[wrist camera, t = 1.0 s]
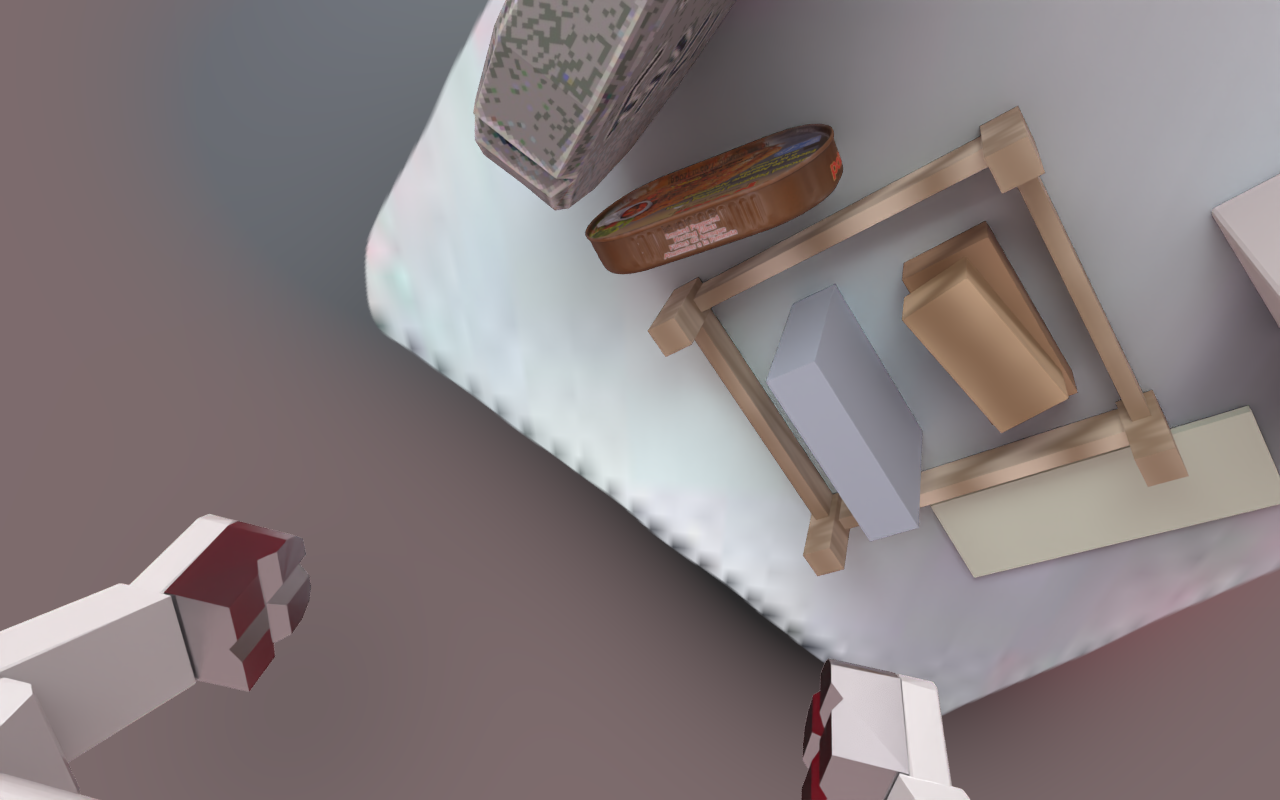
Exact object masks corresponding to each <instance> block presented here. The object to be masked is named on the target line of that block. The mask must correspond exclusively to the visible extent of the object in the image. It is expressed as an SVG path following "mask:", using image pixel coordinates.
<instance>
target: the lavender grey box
mask: <svg viewBox="0 0 1280 800" xmlns="http://www.w3.org/2000/svg"><path fill="white" fill-rule="evenodd" d="M766 383H767V385H768V386H769V388H770V389H771V391H772V392H773V394H774V395H775V397H776V398H777V400H778V402H779V403H780V405H781V406H782V408H783V409H784V411H785V412H786V414H787V415H788V417H789V418H790V420H791V421H792V423H793V424H794V426H795V428H796V429H797V431H798V432H799V434H800V435H801V437H802V438H803V440H804V441H805V443H806V444H807V446H808V447H809V449H810V451H811V452H812V454H813V455H814V457H815V458H816V460H817V461H818V463H819V464H820V466H821V467H822V469H823V470H824V472H825V473H826V475H827V477H828V478H829V480H830V481H831V483H832V484H833V486H834V487H835V489H836V490H837V492H838V493H839V495H840V496H841V498H842V499H843V501H844V503H845V504H846V506H847V507H848V509H849V510H850V512H851V513H852V515H853V516H854V518H855V519H856V521H857V522H858V524H859V526H860V527H861V529H862V530H863V532H864V533H865V535H866V536H867V538H868V539H869V541H874V540H877V539H881V538H884V537H888V536H891V535H895V534H898V533H902V532H906V531H909V530H913V529H916V528H919V509H920V482H921V455H922V429H921V428H920V426H919V424H918V423H917V421H916V419H915V418H914V416H913V414H912V413H911V411H910V409H909V407H908V406H907V404H906V402H905V401H904V399H903V397H902V396H901V394H900V392H899V391H898V389H897V387H896V386H895V384H894V382H893V381H892V379H891V377H890V375H889V374H888V372H887V370H886V369H885V367H884V365H883V364H882V362H881V360H880V359H879V357H878V355H877V354H876V352H875V350H874V348H873V347H872V345H871V343H870V342H869V340H868V338H867V337H866V335H865V333H864V332H863V330H862V328H861V327H860V325H859V323H858V322H857V320H856V318H855V316H854V315H853V313H852V311H851V310H850V308H849V306H848V305H847V303H846V301H845V300H844V298H843V296H842V295H841V293H840V291H839V289H838V288H837V286H836V284H833V285H831V286H829V287H827V288H825V289H823V290H821V291H819V292H817V293H815V294H813V295H811V296H808V297H806V298H804V299H802V300H800V301H798V302H796V303H794V304H793V305H792V308H791V311H790V314H789V317H788V320H787V323H786V325H785V328H784V331H783V334H782V337H781V340H780V343H779V345H778V348H777V351H776V354H775V357H774V360H773V363H772V365H771V368H770V371H769V374H768V377H767V380H766Z"/></svg>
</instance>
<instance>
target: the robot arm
mask: <svg viewBox="0 0 1280 800" xmlns="http://www.w3.org/2000/svg"><path fill="white" fill-rule="evenodd" d="M305 555H306V552H305V546H304V542H303V539H302V538H300V537H297V536H294V535H291V534H287V533H283V532H279V531H275V530H271V529H268V528H264V527H260V526H256V525H252V524H249V523H245V522H240V521H235V520H231V519H228V518H224V517H220V516H216V515H212V514H208V515H205V516H203V517H200V518H198V519H197V520H196V521H195V522H194V523H193V524H192V525H191V526H190V527H189V528H188V529H187V530H186V531H184V532H183V533H182V534H181V535H180V536H179V537H178V538H177V539H176V540H175V541H174V542H173V543H172V544H171V545H170V546H169V547H168V548H167V549H166V550H165V551H164V552H163V553H162V554H161V555H160V556H159V557H158V558H157V559H156V560H155V561H154V562H153V563H152V564H150V566H148V567H147V568H146V569H145V570H144V571H143V572H142V573H141V574H140V575H139V576H138V577H137V578H136V579H135V580H134V581H133V582H132V583H131V584H130V585H126V584H121V583H120V584H117V585H115V586H112V587H110V588H107V589H105V590H102V591H100V592H97V593H95V594H92V595H90V596H87V597H85V598H82V599H80V600H77V601H75V602H72V603H70V604H68V605H65V606H62V607H60V608H57V609H55V610H52V611H50V612H48V613H45V614H43V615H40V616H38V617H35V618H33V619H30V620H28V621H25V622H23V623H20V624H18V625H15V626H13V627H10V628H8V629H5V630H3V631H0V800H99V799H95V798H91V797H88V796H84V795H80V787H79V785H78V783H77V781H76V779H75V777H74V775H73V772H72V770H71V768H70V766H69V764H68V762H70V761H72V760H73V759H75V758H76V757H78V756H80V755H81V754H83V753H84V752H86V751H88V750H89V749H91V748H93V747H94V746H96V745H97V744H99V743H101V742H102V741H104V740H105V739H107V738H109V737H110V736H112V735H113V734H115V733H117V732H118V731H120V730H121V729H123V728H125V727H126V726H128V725H130V724H131V723H133V722H134V721H136V720H138V719H139V718H141V717H143V716H144V715H146V714H147V713H149V712H150V711H152V710H154V709H155V708H157V707H159V706H160V705H162V704H163V703H165V702H167V701H168V700H170V699H172V698H173V697H175V696H176V695H178V694H180V693H181V692H183V691H184V690H186V689H188V688H189V687H191V686H192V685H194V684H195V683H196V680H198V681H203V682H207V683H212V684H216V685H221V686H225V687H229V688H234V689H239V690H243V691H248V692H249V691H250V690H251V689H252V687H253V686H254V685H255V683H256V682H257V681H258V679H259V677H261V675H262V674H263V673H264V671H265V670H266V669H267V667H268V666H269V664H270V663H271V662H272V660H273V659H274V658H275V650H274V643H275V642H277V641H279V640H281V639H283V638H285V637H287V636H289V635H291V634H292V633H293V632H294V630H295V629H296V627H297V626H298V624H299V623H300V622H301V620H302V618H303V616H304V613H305V611H306V608H307V606H308V603H309V600H310V592H311V583H310V576H309V574H308V573H307V572H306V571H305V570H304V568H303V567H302V566H301V565H300V564H299V563H300V562H301V560H302V559H303V558H304V557H305ZM802 757H803V758H802V760H803V761H804V763H805V765H806V766H807V768H808V772H807V775H806V778H805V781H804V783H803V786H802V791H801V792H802V793H801V800H970V798H969V797H968V796H967V795H966V793H965V792H964V790H963V789H960V788H956V787H953V786H952V784H951V778H950V771H949V764H948V757H947V750H946V744H945V738H944V730H943V723H942V716H941V710H940V703H939V696H938V689H937V687H936V686H935V684H934V682H931V681H927V680H922V679H918V678H914V677H909V676H905V675H900V674H897V675H896V673H893V672H889V671H884V670H880V669H875V668H870V667H866V666H861V665H857V664H852V663H848V662H843V661H839V660H834V659H829V658H828V659H827V661H826V662H825V664H824V666H823V669H822V672H821V674H820V691H819V692H817V693H815V694H814V695H813V697H812V700H811V703H810V706H809V709H808V714H807V718H806V723H805V729H804V738H803V756H802Z"/></svg>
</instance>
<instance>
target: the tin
mask: <svg viewBox="0 0 1280 800" xmlns="http://www.w3.org/2000/svg"><path fill="white" fill-rule="evenodd" d="M833 137H834V131H833V129H832V127H830V126H829V125H824V124H807V125H802V126H797V127H793V128H790V129H786V130H784V131H781V132H777V133H774V134H772V135H769V136H766V137H764V138H761V139H758V140H756V141H753V142H751V143H748V144H746V145H743V146H741V147H738V148H735V149H733V150H730V151H728V152H725V153H723V154H720V155H717V156H715V157H712V158H710V159H707V160H704V161H702V162H699V163H696V164H694V165H691V166H689V167H686V168H684V169H681V170H678V171H676V172H673V173H671V174H668V175H666V176H663V177H661V178H658V179H656V180H654V181H652V182H649V183H648V184H646V185H644V186H642V187H640V188H638V189H636V190H634V191H632V192H630V193H629V194H627V195H625V196H623V197H622V198H621V199H619V200H617V201H616V202H614V203H613V204H612V205H610V206H609V207H608V208H606V209H605V210H604V211H603V212H601V213H600V214H599V215H598V216H597V217H596V218H595V219H593V221H592V222H591V223H590V224H589V225H588V227H587V229H586V232H585V235H586V237H587V238H588V239H589V240H590V241H591V243H592V245H593V247H594V249H595V251H596V253H597V255H598V256H599V258H600V260H601V262H602V264H603V265H604V267H605V268H606V269H607V270H608V271H610V272H612V273H615V274H631V273H636V272H642V271H645V270H649V269H652V268H655V267H658V266H661V265H664V264H668V263H671V262H674V261H677V260H680V259H683V258H686V257H689V256H692V255H695V254H698V253H702V252H704V251H707V250H710V249H713V248H716V247H719V246H722V245H725V244H728V243H731V242H734V241H737V240H740V239H743V238H746V237H749V236H752V235H755V234H758V233H760V232H763V231H766V230H769V229H772V228H774V227H777V226H779V225H781V224H784V223H786V222H788V221H790V220H792V219H794V218H796V217H798V216H800V215H802V214H803V213H805V212H807V211H808V210H810V209H812V208H813V207H815V206H816V205H818V204H819V203H820V202H822V201H823V200H824V199H825V198H826V197H828V196H829V195H830V194H831V193H832V192H833V190H834V189H835V188H836V186H837V184H838V182H839V180H840V178H841V176H842V173H843V165H842V161H841V158H840V155H839V152H838V150H837V147H836V144H835V141H834V138H833Z"/></svg>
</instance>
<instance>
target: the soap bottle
mask: <svg viewBox="0 0 1280 800" xmlns="http://www.w3.org/2000/svg"><path fill="white" fill-rule="evenodd" d="M1212 216H1213V218H1214V219H1215V221H1216V223H1217V224H1218V226H1219V228H1220V229H1221V231H1222V233H1223V234H1224V236H1225V238H1226V239H1227V241H1228V243H1229V244H1230V246H1231V248H1232V249H1233V251H1234V253H1235V254H1236V256H1237V258H1238V259H1239V261H1240V263H1241V264H1242V266H1243V268H1244V269H1245V271H1246V273H1247V274H1248V276H1249V278H1250V279H1251V281H1252V283H1253V284H1254V286H1255V288H1256V289H1257V291H1258V293H1259V294H1260V296H1261V298H1262V299H1263V301H1264V303H1265V304H1266V306H1267V308H1268V309H1269V311H1270V313H1271V314H1272V316H1273V318H1274V319H1275V321H1276V323H1277V324H1278V326H1279V328H1280V174H1278V175H1277V176H1275V177H1273V178H1271V179H1269V180H1267V181H1265V182H1263V183H1261V184H1259V185H1257V186H1255V187H1253V188H1251V189H1250V190H1248V191H1246V192H1244V193H1242V194H1240V195H1238V196H1236V197H1234V198H1232V199H1230V200H1228V201H1226V202H1224V203H1222V204H1221V205H1219V206H1217V207H1215V208H1214V209H1212Z"/></svg>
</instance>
